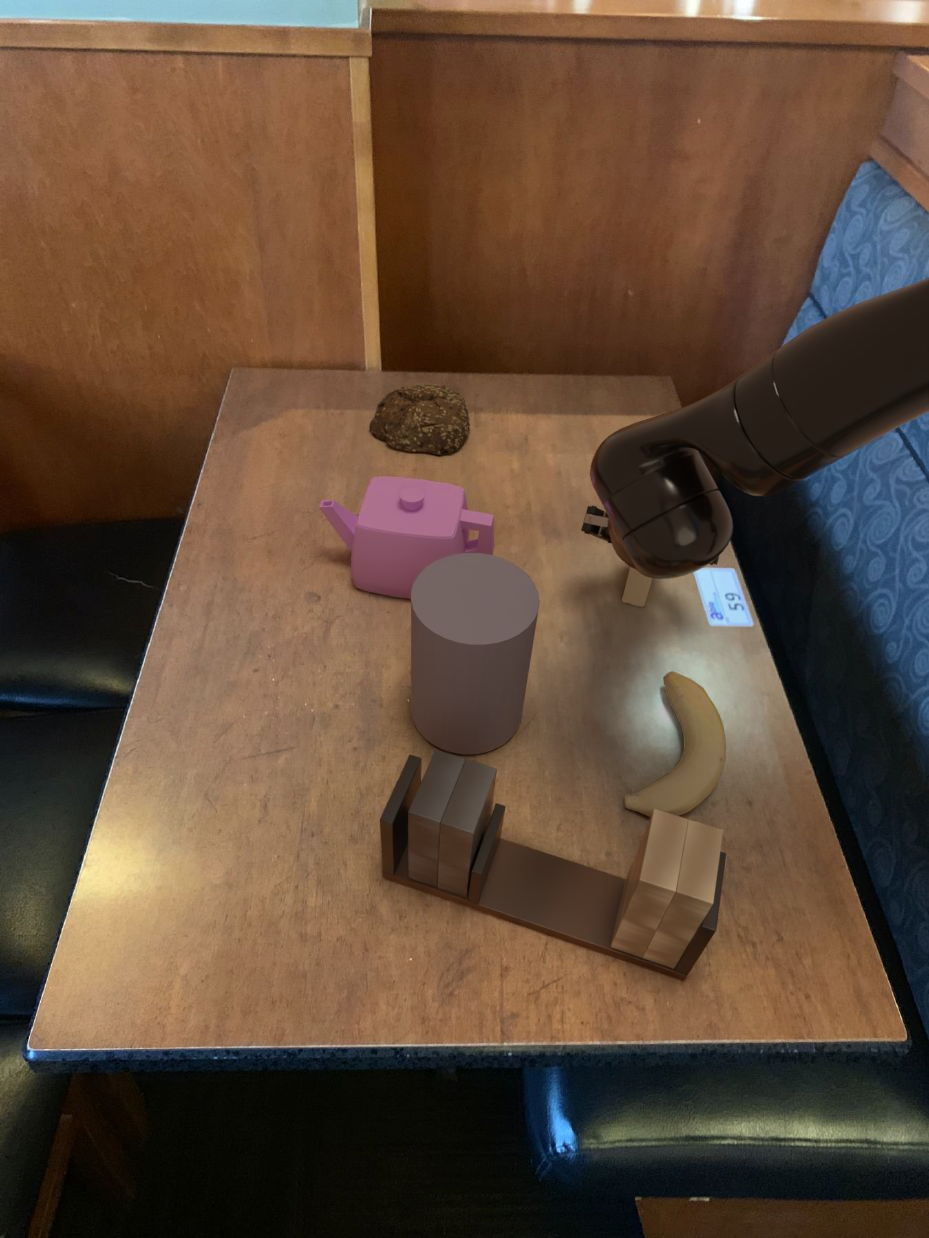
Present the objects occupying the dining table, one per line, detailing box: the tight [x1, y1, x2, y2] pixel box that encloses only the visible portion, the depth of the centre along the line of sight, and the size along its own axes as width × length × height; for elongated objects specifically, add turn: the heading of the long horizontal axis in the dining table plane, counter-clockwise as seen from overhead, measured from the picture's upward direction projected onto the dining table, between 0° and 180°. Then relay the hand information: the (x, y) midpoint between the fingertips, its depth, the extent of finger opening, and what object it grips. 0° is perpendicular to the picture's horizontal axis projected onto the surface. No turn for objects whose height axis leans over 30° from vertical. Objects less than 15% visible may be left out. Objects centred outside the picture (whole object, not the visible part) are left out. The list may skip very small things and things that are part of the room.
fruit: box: [624, 670, 727, 818], centre depth 75 cm, size 7×15×3 cm, turn 158°
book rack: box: [379, 749, 727, 982], centre depth 62 cm, size 24×6×12 cm, turn 71°
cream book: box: [621, 566, 653, 608], centre depth 87 cm, size 2×6×11 cm, turn 161°
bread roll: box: [368, 383, 471, 456], centre depth 107 cm, size 13×12×5 cm
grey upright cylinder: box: [410, 553, 541, 755], centre depth 73 cm, size 10×10×15 cm
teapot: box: [318, 475, 495, 600], centre depth 88 cm, size 18×10×10 cm, turn 82°
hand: (649, 543), depth 89 cm, fingers closed on cream book, 2 cm apart
